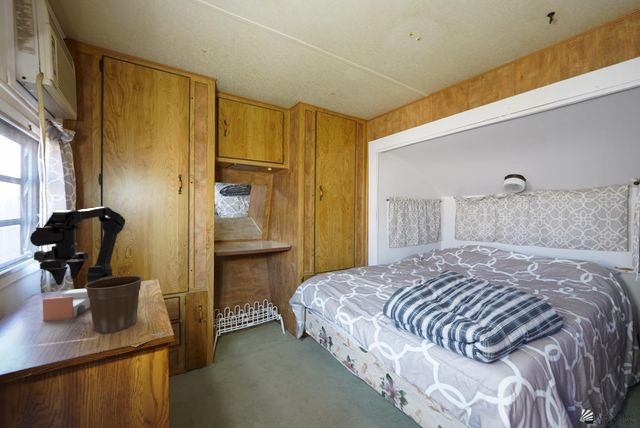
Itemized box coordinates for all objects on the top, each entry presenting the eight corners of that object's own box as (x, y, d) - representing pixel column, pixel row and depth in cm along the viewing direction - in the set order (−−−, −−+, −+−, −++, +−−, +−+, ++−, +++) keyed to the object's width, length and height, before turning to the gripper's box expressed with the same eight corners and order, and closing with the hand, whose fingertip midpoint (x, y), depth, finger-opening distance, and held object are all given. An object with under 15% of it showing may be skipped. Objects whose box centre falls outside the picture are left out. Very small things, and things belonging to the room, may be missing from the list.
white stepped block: (67, 306, 112) (67, 290, 112) (98, 303, 115) (97, 287, 115) (41, 321, 98) (41, 302, 97) (77, 317, 101) (77, 299, 100)
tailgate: (44, 321, 97) (43, 298, 97) (74, 318, 100) (73, 296, 100) (42, 321, 97) (42, 299, 96) (72, 319, 99) (72, 297, 99)
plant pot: (98, 319, 99) (97, 277, 98) (148, 313, 105) (147, 273, 104) (75, 340, 84) (74, 290, 83) (135, 332, 89) (134, 285, 89)
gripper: (56, 240, 110) (57, 277, 110) (20, 246, 92) (21, 291, 92) (88, 239, 113) (89, 275, 113) (59, 245, 95) (60, 288, 95)
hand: (66, 281), depth 103 cm, fingers open, 8 cm apart
